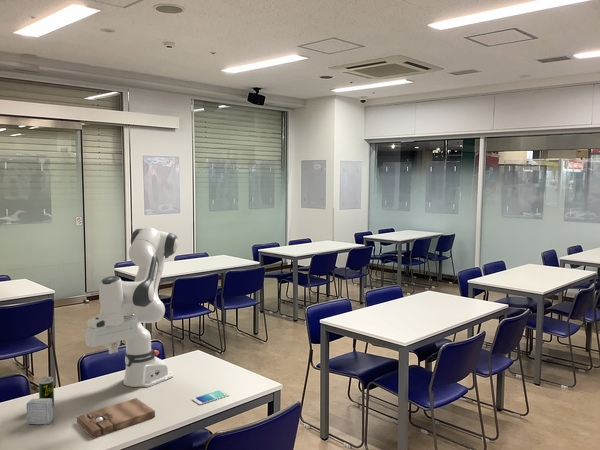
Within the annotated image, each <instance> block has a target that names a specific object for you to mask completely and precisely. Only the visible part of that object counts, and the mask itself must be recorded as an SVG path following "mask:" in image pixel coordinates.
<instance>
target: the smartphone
mask: <svg viewBox="0 0 600 450" xmlns="http://www.w3.org/2000/svg"><path fill="white" fill-rule="evenodd" d="M224 394H225V395H224ZM229 394H230V393H228V391H227V392H226V391H225V390H223V389H217V390H215V391H214V390H213V391H211V392H208V393H205V394H203V395H202V394H201V395H199V396H195V397H192V398H191V401H192V402H194V403H195V404H197V405H198V406H203V405H205V404H206V405H207V404H209V403H211V402H214V401H218V400H220V399H219V398H221V399H223V398H222V397H224V398H226V397H225V396H227V397H229V396H228V395H229ZM217 399H218V400H217Z"/></svg>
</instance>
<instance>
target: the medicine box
mask: <svg viewBox="0 0 600 450" xmlns="http://www.w3.org/2000/svg"><path fill="white" fill-rule="evenodd" d="M53 409H54V407H53V405H52V398H42V399H39V398H31V399H30V400H29V401H28V402H27V403H26V422H27V425H28V424H44V425H49V424H50V423H51V422H52V421H53V420H54V410H53Z"/></svg>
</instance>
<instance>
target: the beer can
mask: <svg viewBox="0 0 600 450" xmlns="http://www.w3.org/2000/svg"><path fill="white" fill-rule="evenodd" d="M54 384H55V383H54V378H53V376H44V377H41V378H40V379H38V397H39V398H38V399H42V398H52V405H53V406H54V407H55V386H54Z"/></svg>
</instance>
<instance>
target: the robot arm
mask: <svg viewBox="0 0 600 450" xmlns="http://www.w3.org/2000/svg"><path fill="white" fill-rule="evenodd" d="M178 246H179V239H178V236H177V234H174V233H171V232H167V231H163V230H158V229H156V228H154V227H143V228H136V229H135V230H133V232H132V234H131V235H130V246H129V250H128V256H129V259H130V261H131V262H132V263H133V264H134V265H135V266H137V267H138V270H137V272H136V276H135V278H134V281H127V280H125V281H124V280H122V279H121V277H119V276H116V275H111V276H106V277H105V278H102V279H101V281H100V283H99V291H98V295H99V299H98V300H99V304H100V309H99V314H97V315H96V316H94V317H92V318H89V319H88V320H87V321H86V323H87V326H88V327H87V328H86V329H85V336H84V337H85V339H84V341H85V345H86V346H87V347H89V348H94V347H100V346H103V345H105V346H106V347H107V349H108V354H109V355H110V354H111V355H113V354H115V353H118V352H119V347H120V345H121V341H125V352H124V355H125V356H124V357H125V358H124V362H125V372H124V378H123V382H122V384H123V385H125V386H127V387H131V388H133V387H134V388H136V387H145V388H149V387H152V386H155V385H157V384H159V383H162V382H164V381H167V380H169V379H172V378H173V377H174V373H173V372H172V371H171V370H169V368H168V365H167V363H166V362H165V361H164V360H162V359H161V358H159V357H157V356H158V355H159V354H160V351H159V350H156V349H153V348H152V335H151V333H150V331H149V330H148V329H146V328H145V327H144V326H143V324H142V323H145V324H152V323H158V322H160V321H162V319H163V318H164V316H165V313H166V308H165V304H164V303H163V301H161V299H160V297H159V293H158V292H159V291H158V289H159V285H160V281H161V278H162V274H163V272H164V271H163V270H164V265H165V260H166V259H168V258H169V257H171V256H173V255H174V253H176V251H177V250H178ZM112 343H114V344H115V345H114V347H112Z"/></svg>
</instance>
